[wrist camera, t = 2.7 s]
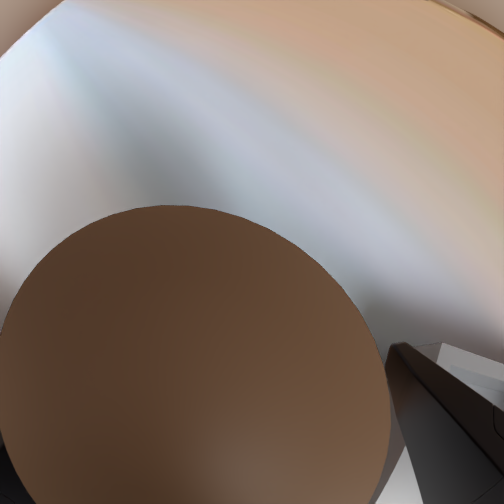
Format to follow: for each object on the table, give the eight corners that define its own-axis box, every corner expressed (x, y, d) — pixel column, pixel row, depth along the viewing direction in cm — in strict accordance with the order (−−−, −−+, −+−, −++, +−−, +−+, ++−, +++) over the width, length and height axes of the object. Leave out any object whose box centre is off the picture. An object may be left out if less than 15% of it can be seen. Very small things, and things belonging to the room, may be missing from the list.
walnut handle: (279, 443, 14) (304, 655, 1) (173, 397, 15) (-58, 449, 2) (324, 339, 15) (514, 247, 3) (218, 297, 16) (82, 104, 4)
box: (444, 556, 9) (474, 583, 5) (299, 548, 12) (307, 594, 7) (524, 388, 14) (571, 386, 9) (398, 348, 16) (442, 342, 11)
